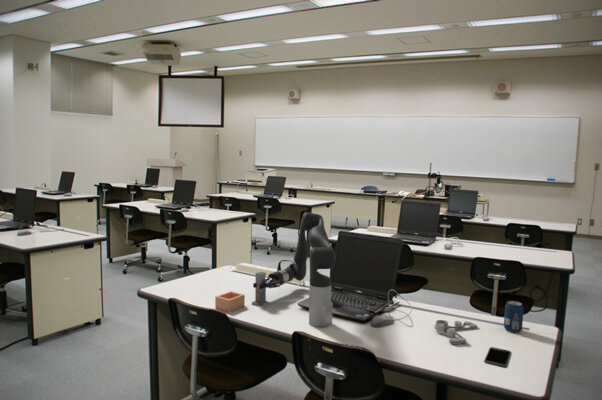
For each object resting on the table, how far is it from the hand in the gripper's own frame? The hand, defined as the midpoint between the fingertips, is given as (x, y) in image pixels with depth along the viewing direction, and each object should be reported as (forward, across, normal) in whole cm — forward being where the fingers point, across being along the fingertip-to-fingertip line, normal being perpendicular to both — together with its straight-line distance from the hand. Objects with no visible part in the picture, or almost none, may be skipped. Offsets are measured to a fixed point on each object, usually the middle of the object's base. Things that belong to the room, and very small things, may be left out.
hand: (256, 286), depth 208 cm
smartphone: (-9, +106, +10) cm, 107 cm away
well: (+10, -8, +9) cm, 16 cm away
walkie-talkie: (-32, +51, +10) cm, 61 cm away
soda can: (-40, +107, +9) cm, 115 cm away
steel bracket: (-3, 0, +9) cm, 9 cm away
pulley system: (-23, +87, +10) cm, 90 cm away
